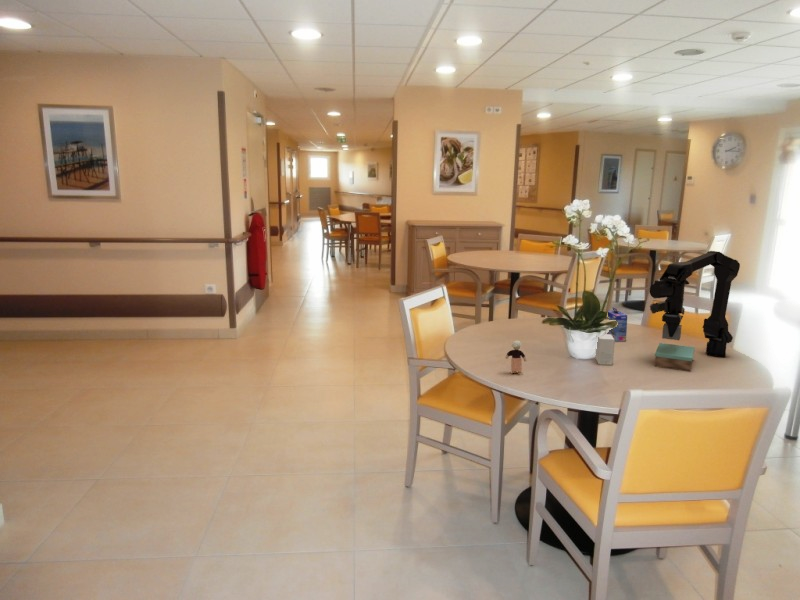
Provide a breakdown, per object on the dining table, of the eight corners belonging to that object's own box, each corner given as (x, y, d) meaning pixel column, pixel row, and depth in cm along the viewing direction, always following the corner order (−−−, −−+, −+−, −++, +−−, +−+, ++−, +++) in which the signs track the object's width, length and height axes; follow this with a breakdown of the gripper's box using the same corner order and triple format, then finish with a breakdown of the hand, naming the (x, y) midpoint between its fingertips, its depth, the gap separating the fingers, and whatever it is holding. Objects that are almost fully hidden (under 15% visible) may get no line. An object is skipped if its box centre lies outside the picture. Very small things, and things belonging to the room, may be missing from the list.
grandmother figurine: (525, 371, 200) (526, 339, 197) (526, 375, 196) (527, 342, 193) (504, 370, 201) (505, 338, 198) (505, 374, 197) (506, 341, 195)
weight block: (680, 337, 208) (681, 325, 207) (679, 340, 204) (680, 327, 203) (663, 335, 211) (664, 323, 210) (662, 338, 207) (663, 326, 206)
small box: (613, 365, 206) (615, 339, 204) (598, 364, 207) (599, 338, 205) (609, 359, 214) (611, 333, 211) (594, 358, 215) (596, 333, 213)
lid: (694, 350, 211) (694, 347, 210) (691, 361, 197) (692, 358, 197) (659, 345, 217) (659, 342, 217) (654, 356, 203) (655, 353, 203)
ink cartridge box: (604, 335, 247) (606, 305, 244) (615, 335, 247) (618, 305, 244) (614, 341, 237) (617, 310, 234) (626, 341, 238) (629, 310, 235)
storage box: (692, 359, 212) (693, 350, 211) (689, 371, 198) (691, 361, 198) (659, 355, 218) (660, 345, 217) (654, 366, 204) (655, 356, 204)
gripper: (655, 290, 216) (652, 327, 219) (649, 298, 201) (645, 338, 204) (686, 292, 210) (682, 330, 213) (682, 301, 195) (678, 342, 198)
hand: (671, 335), depth 207 cm, fingers closed on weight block, 5 cm apart
